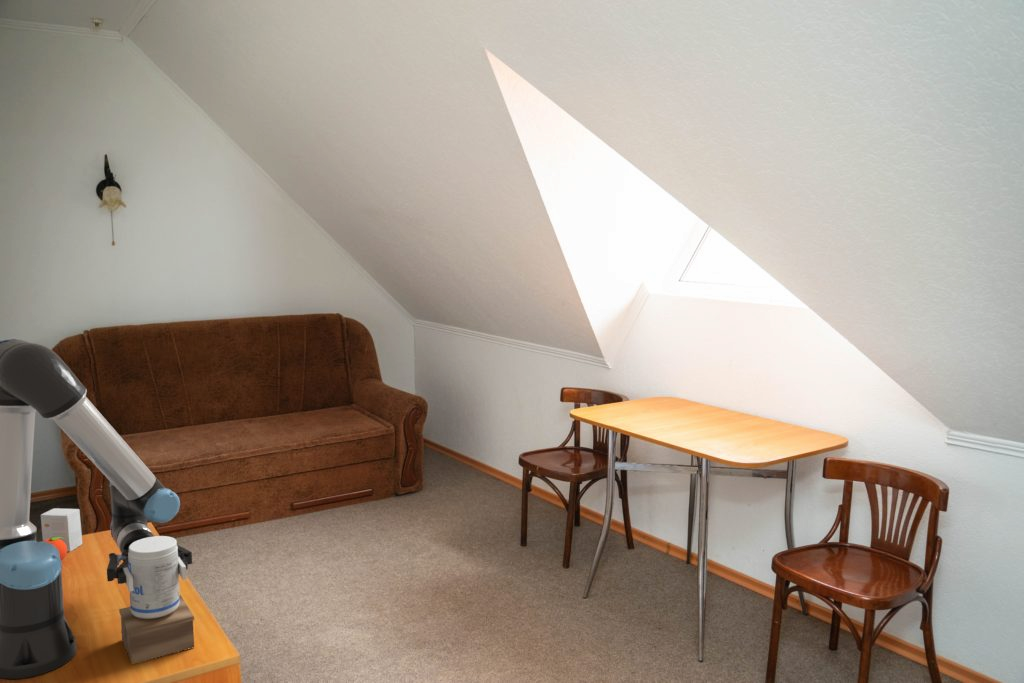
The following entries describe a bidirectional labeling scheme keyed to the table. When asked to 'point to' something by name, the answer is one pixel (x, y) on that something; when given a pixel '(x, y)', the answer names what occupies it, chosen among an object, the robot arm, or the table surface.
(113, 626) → the table surface
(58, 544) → the clementine
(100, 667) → the table surface
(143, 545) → the supplement tub
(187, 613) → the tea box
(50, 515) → the small box
